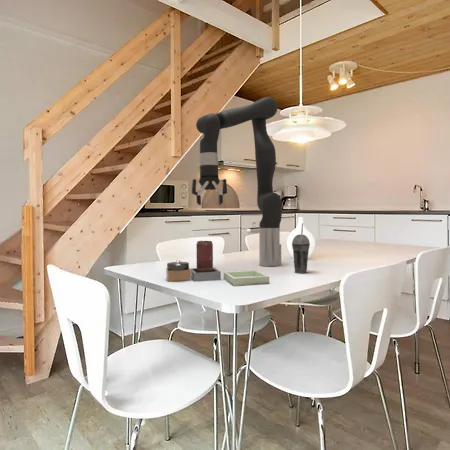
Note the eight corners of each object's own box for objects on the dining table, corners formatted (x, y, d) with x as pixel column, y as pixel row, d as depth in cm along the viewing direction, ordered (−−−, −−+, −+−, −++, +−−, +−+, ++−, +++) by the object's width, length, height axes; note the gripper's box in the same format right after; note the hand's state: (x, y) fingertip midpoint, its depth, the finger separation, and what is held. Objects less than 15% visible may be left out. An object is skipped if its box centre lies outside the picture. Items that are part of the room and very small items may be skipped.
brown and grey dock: (214, 274, 141) (214, 257, 141) (220, 279, 132) (220, 260, 131) (165, 277, 136) (165, 259, 136) (168, 282, 127) (168, 263, 126)
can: (205, 275, 140) (204, 240, 139) (216, 278, 135) (216, 241, 134) (193, 277, 135) (192, 241, 135) (204, 280, 131) (203, 242, 130)
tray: (256, 276, 137) (256, 270, 137) (269, 283, 124) (269, 276, 124) (223, 278, 134) (223, 272, 133) (233, 286, 121) (233, 278, 121)
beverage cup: (288, 272, 146) (288, 223, 145) (297, 270, 151) (297, 222, 150) (303, 274, 141) (304, 224, 140) (313, 272, 146) (313, 223, 145)
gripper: (223, 166, 151) (224, 204, 151) (190, 165, 147) (191, 205, 148) (228, 163, 143) (229, 204, 144) (193, 163, 140) (194, 205, 141)
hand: (209, 204), depth 146 cm, fingers open, 8 cm apart
